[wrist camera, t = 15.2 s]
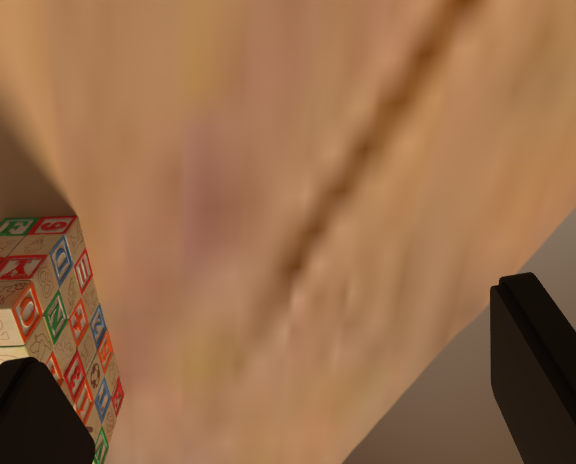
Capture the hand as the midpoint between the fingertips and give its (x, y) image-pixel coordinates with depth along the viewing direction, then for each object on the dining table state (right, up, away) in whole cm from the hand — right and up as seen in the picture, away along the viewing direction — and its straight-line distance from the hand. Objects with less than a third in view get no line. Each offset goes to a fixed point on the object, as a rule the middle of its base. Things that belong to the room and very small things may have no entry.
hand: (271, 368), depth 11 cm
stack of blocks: (-20, -5, +37) cm, 42 cm away
